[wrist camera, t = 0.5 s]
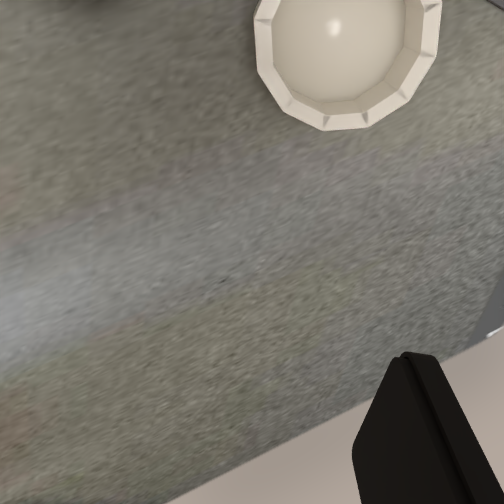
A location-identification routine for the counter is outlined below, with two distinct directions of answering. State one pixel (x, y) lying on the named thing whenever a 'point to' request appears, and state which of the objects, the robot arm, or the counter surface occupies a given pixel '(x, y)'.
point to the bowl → (344, 56)
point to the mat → (498, 3)
